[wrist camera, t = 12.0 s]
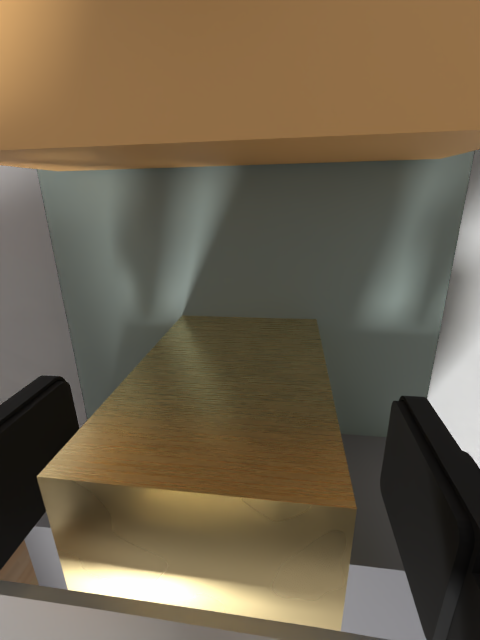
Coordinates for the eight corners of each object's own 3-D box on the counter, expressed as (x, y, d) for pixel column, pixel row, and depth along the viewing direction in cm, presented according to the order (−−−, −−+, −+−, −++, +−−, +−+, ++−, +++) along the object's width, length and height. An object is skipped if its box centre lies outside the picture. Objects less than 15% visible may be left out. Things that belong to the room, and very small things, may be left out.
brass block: (316, 319, 12) (356, 508, 5) (310, 413, 14) (335, 674, 6) (182, 315, 13) (36, 476, 6) (189, 405, 14) (79, 632, 7)
